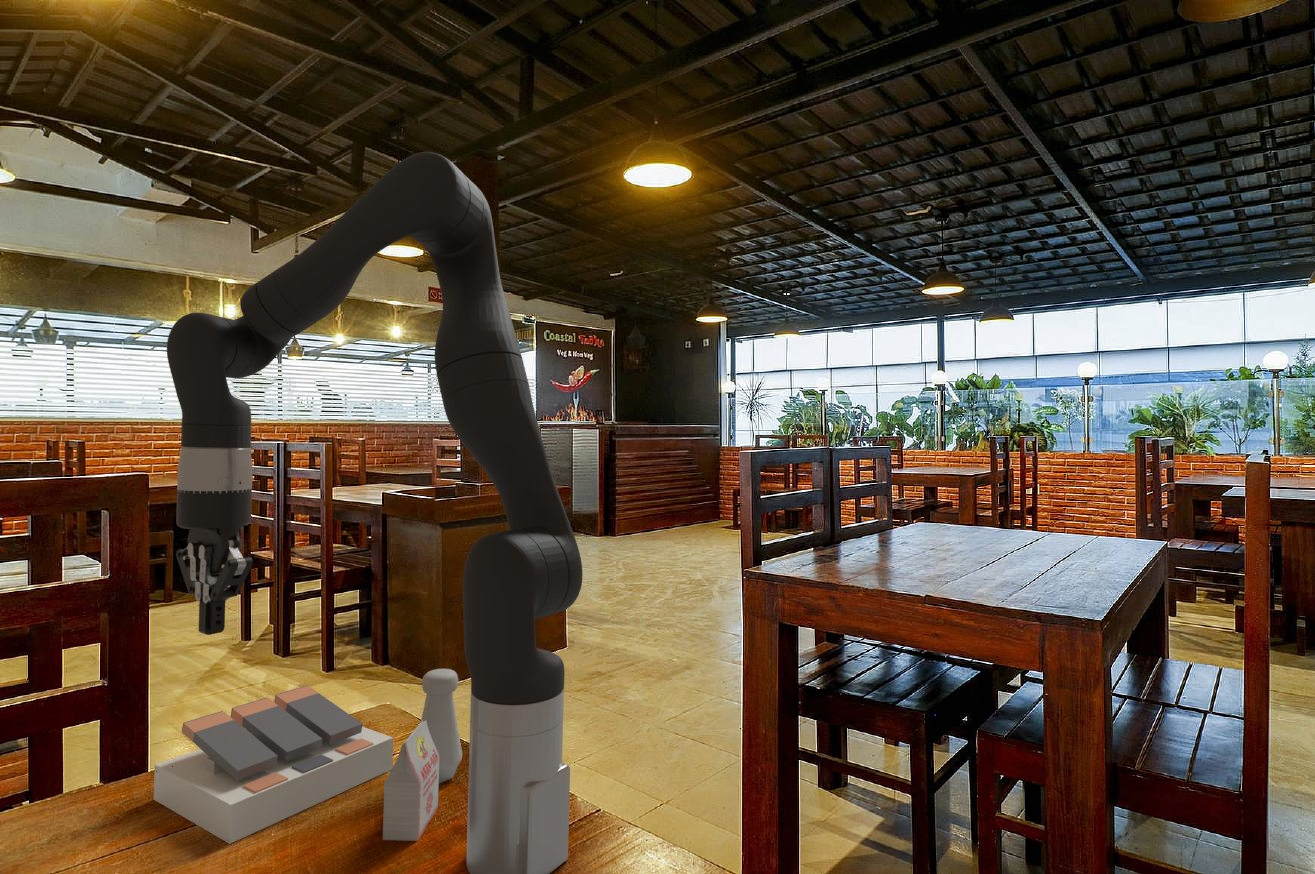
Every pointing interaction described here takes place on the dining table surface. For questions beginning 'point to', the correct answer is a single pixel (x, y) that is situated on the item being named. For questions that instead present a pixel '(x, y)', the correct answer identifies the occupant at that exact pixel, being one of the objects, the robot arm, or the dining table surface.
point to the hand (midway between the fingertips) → (211, 632)
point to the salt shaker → (442, 719)
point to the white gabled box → (412, 788)
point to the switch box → (267, 784)
